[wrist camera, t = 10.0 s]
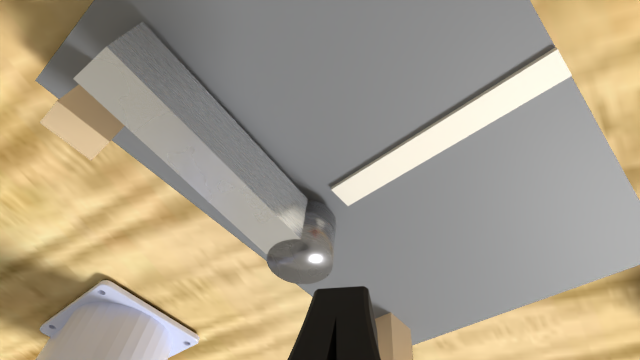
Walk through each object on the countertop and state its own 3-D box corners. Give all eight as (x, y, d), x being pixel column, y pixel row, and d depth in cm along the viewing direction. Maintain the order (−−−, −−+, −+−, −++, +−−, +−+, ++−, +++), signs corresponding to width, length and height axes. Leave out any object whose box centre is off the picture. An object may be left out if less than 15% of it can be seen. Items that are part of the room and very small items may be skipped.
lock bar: (348, 229, 19) (345, 270, 17) (301, 250, 20) (294, 291, 18) (151, 12, 14) (116, 36, 12) (104, 58, 15) (64, 87, 13)
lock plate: (385, 333, 28) (388, 402, 24) (57, 66, 18) (-21, 116, 14) (651, 231, 20) (712, 309, 17) (346, -316, 10) (335, -411, 7)
